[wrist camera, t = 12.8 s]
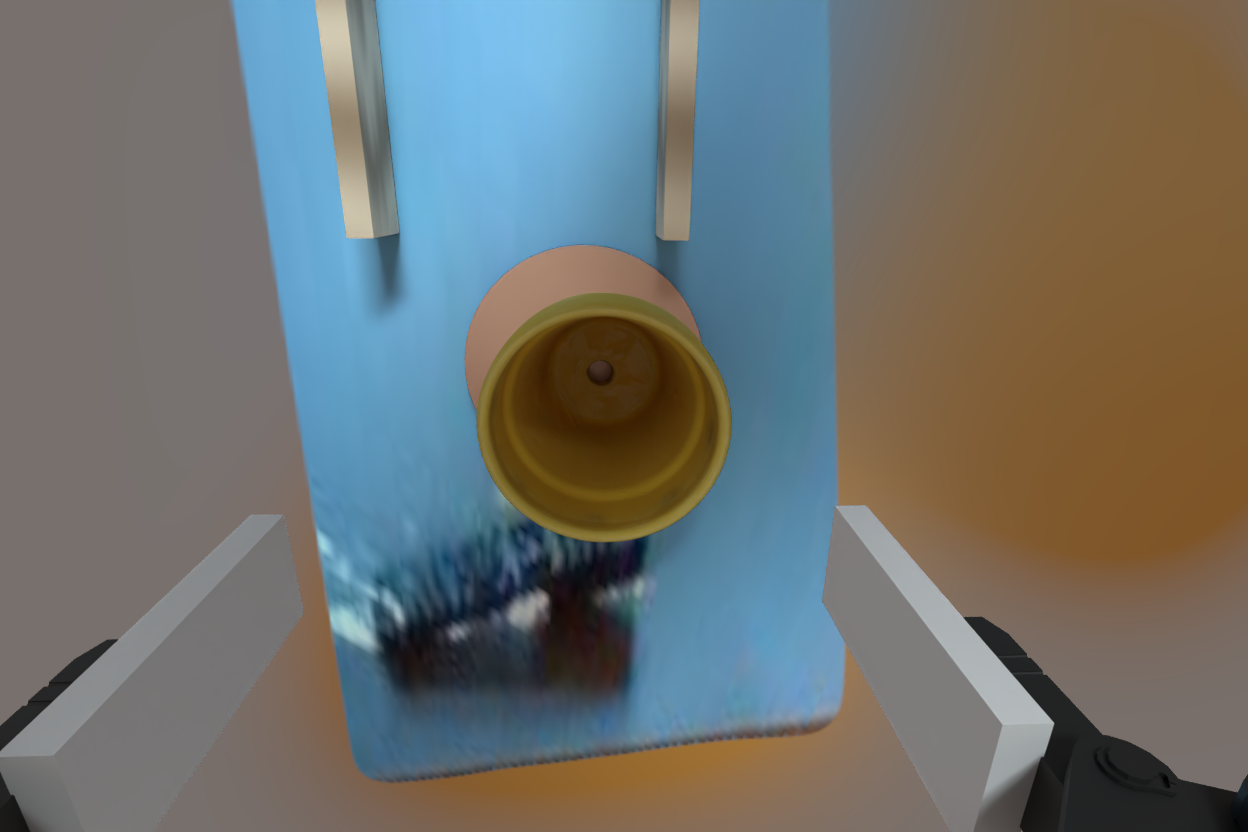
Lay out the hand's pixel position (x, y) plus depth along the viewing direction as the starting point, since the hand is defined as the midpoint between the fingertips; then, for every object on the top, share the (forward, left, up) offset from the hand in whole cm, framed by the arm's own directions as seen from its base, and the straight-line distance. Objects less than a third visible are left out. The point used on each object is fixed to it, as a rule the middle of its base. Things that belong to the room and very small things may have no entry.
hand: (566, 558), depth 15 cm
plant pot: (0, +1, -20) cm, 20 cm away
